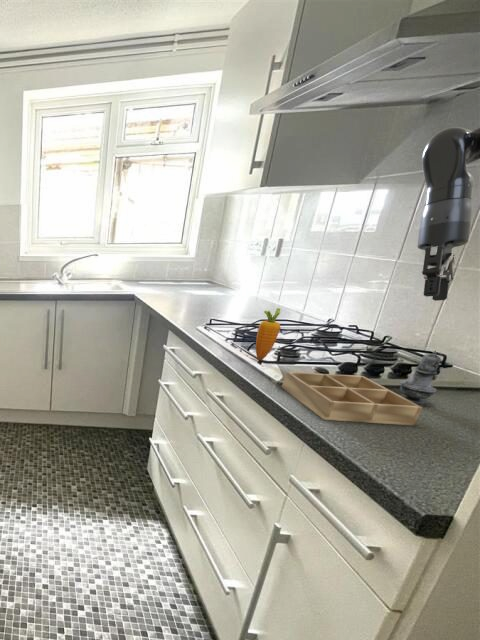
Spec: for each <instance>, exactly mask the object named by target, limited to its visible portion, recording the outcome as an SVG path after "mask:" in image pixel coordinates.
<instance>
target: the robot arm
mask: <svg viewBox="0 0 480 640" xmlns="http://www.w3.org/2000/svg"><path fill="white" fill-rule="evenodd" d="M477 161H480V126H479V127H477V128H474V129H472V130H470V129H467V128H464V127H461V126H454V127H453V126H452V127H447V128H444V129H442V130H440V131H438V132H437V133H435V134H434V135H433V136H432V137H431V138H430V139H429V140H428V141H427V143H426V144H425V146H424V149H423V152H422V156H421V165H422V173H423V179H424V182H425V183H424V184H425V187H426V188H425V195H424V202H423V210H422V213H421V216H420V221H419V222H420V223H419V230H418V231H419V232H418V238H417V239H418V240H417V249H418V250H421V251H424V259H423V266H422V271H421V274H422V275H423V279H424V288H423V296H424V297H426V298H427V297H432V299H431V300H433V301H435V302H436V301H446V300H447V299H448V295H449V287H450V284H451V283H452V282H453V280H454V273H455V264H456V263H455V262H456V259H457V256H456V254H454V252H453V250H452V249H453V248H456V247H457V248H459V247H461V246H464V245H466V244H467V243H468V242H469V239H470V238H469V237H470V230H471V223H472V222H471V221H472V214H473V206H472V205H473V202H472V201H473V194H474V193H473V192H474V184H475V179H474V175H473V174H472V173H470V172H469V171H468V168H467V166H468V165H471V164H473V163H475V162H477Z"/></svg>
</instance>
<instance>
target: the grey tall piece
mask: <svg viewBox="0 0 480 640" xmlns="http://www.w3.org/2000/svg"><path fill="white" fill-rule="evenodd" d="M441 361H442V358H441V357H440V356H439V355H437V350H434V351H432V353H427V354H424V355H423V356H422V357H421V359H420V362H419V364H418V365H417V366H416V367H415V368H414V370H415V371H414V373H413V376H412V377H411V378H410V379H409V380H402V381H400V382H399V385H400V392H401V394H399V395H400V396H402V397H404V398H406V399H408V400H409V401H411V402H413V403H415V404H417V405H419V406H421V407H426V406H428V405H429V403H428V402H427V401H426V399H429V398H431V397H432V396H433V394H434V393H436V392H437V391H438V389H437V388H436V387H433V386H432V381H433V380H434V379H433V378H434V377H435V375H438V371H437V370H438V368H439V366H440V364H441Z"/></svg>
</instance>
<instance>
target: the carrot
mask: <svg viewBox="0 0 480 640" xmlns="http://www.w3.org/2000/svg"><path fill="white" fill-rule="evenodd" d="M263 313H264V314H265V315H266V317H267V320H262V321H261V322H260V323H259V326H258V330H257V334H256V339H255V340H256V342H255V356H256V358H257V361H258V362H261V361H263V360H264V359H265V358H266V357H267V356H268V354H269V353H270V352H271V350H272V348H273V347H274V345H275V343H276V341H277V338H278V336H279V334H280V330H281V323H280V322H278V321H276V320H277V319H278V317H279V315H280V314H281V308H279V307H277V308H276V309H275V311H274V314H272V312H271V310H264V311H263Z"/></svg>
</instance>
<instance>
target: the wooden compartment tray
mask: <svg viewBox="0 0 480 640" xmlns="http://www.w3.org/2000/svg"><path fill="white" fill-rule="evenodd" d="M281 388H282V389H283V390H284V391H285V392H287V393H288V394H289V395H291V396H292V397H293V398H294V399H296V400H297V401H299V402H300V403H301V404H302V405H304V406H305V407H306V408H308V409H309V410H311V411H312V412H313V413H314V414H316V415H317V416H319V417H320V418H321V419H323V420H325V421H338V422H354V423H355V422H356V423H367V424H368V423H370V424H384V425H397V426H399V425H400V426H415V424H416V423H417V420H418V419H419V417H420V414H421V412H422V410H423V408H424V406H419V405H417V404H415V403H413V402H411V401H409V400H408V399H406V398H404V397H402V396H400V395H401V394H398V393H397V392H394V391H393V390H391V389H389V388H388V387H385V386H383V385H381V384H379V383H378V382H376V381H374V380H372V379H370V378H368V377H366V376H364V375H353V374H352V375H351V374H336V373H334V374H332V373H315V372H297V371H286V373H285V375H284V378H283V381H282V384H281Z"/></svg>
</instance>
